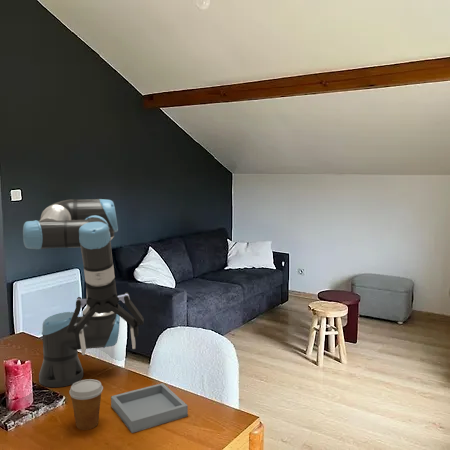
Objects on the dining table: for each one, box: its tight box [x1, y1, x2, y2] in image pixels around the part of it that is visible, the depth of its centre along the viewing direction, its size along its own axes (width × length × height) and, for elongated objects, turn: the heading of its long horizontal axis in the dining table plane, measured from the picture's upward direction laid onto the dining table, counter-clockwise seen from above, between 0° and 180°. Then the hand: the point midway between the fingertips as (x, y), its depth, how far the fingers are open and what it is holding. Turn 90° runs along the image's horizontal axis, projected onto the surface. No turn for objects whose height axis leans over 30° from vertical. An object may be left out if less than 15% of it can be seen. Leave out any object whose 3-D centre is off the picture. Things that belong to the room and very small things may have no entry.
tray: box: [110, 382, 189, 434], centre depth 147 cm, size 18×18×4 cm
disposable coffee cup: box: [68, 378, 104, 431], centre depth 139 cm, size 10×10×12 cm
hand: (109, 349), depth 131 cm, fingers open, 13 cm apart
